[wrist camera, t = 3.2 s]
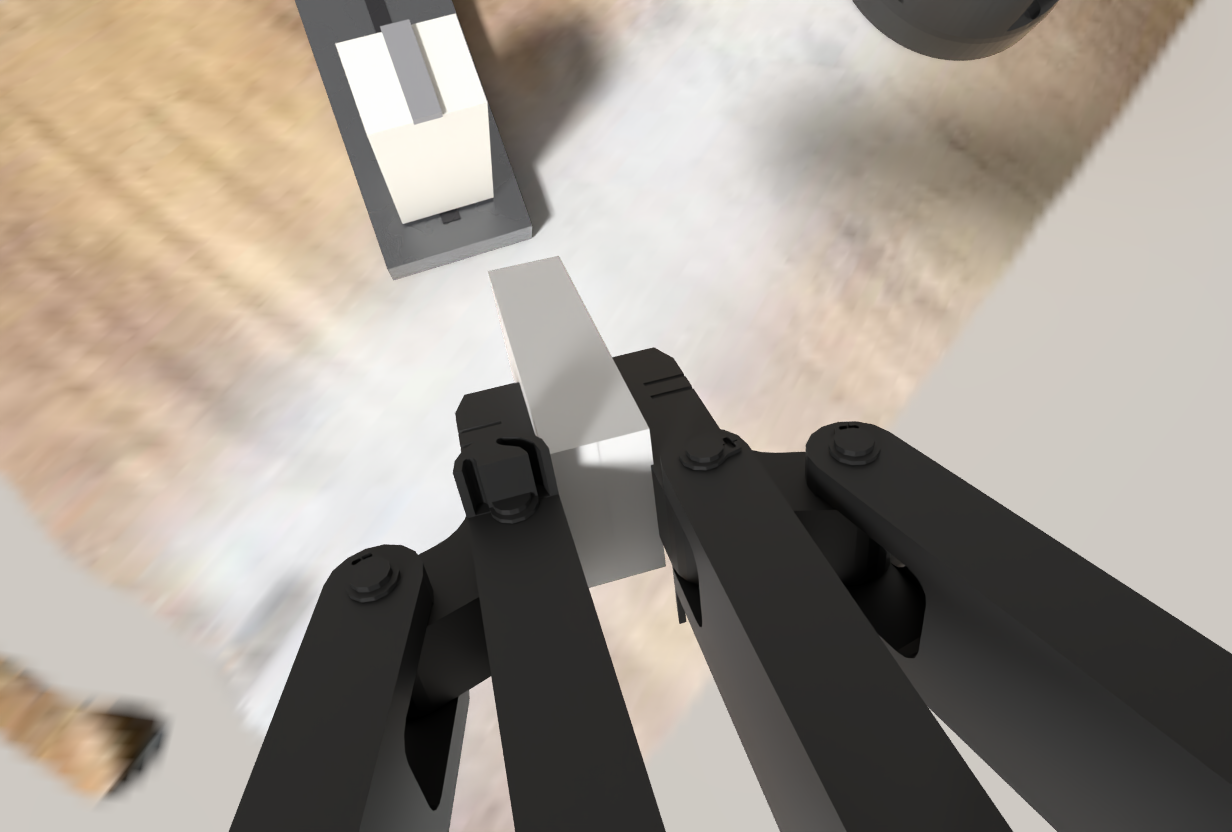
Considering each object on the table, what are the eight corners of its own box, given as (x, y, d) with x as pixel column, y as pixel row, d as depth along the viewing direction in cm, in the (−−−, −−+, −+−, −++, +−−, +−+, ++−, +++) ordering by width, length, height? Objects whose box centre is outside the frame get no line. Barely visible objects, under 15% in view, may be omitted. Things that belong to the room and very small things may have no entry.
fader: (494, 198, 41) (487, 99, 31) (402, 225, 41) (365, 132, 31) (468, 128, 42) (454, 7, 32) (377, 153, 41) (333, 38, 31)
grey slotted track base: (531, 238, 44) (532, 225, 42) (393, 280, 43) (387, 268, 40) (406, -111, 45) (401, -141, 43) (269, -81, 44) (257, -110, 42)
